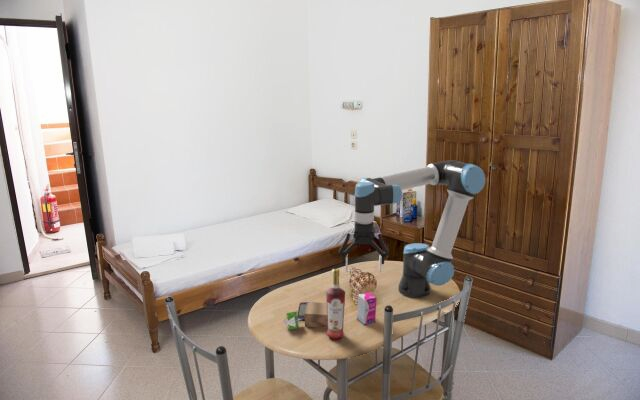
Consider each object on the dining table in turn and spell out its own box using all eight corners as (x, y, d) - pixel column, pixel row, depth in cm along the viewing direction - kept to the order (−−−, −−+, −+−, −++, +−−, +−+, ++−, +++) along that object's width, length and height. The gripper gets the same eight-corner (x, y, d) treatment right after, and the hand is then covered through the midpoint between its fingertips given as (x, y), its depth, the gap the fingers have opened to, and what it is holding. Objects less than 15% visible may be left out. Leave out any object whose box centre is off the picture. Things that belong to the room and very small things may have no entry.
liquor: (326, 341, 178) (326, 274, 171) (326, 331, 185) (325, 266, 178) (345, 341, 178) (346, 274, 171) (344, 331, 185) (344, 266, 178)
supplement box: (364, 325, 189) (364, 300, 186) (356, 319, 194) (357, 294, 191) (376, 322, 192) (376, 297, 189) (368, 316, 197) (368, 291, 194)
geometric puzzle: (280, 318, 191) (283, 309, 185) (296, 315, 193) (300, 306, 187) (285, 334, 187) (288, 326, 181) (301, 331, 189) (304, 322, 183)
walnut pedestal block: (331, 315, 197) (331, 303, 196) (329, 328, 188) (329, 314, 186) (307, 314, 199) (307, 302, 197) (304, 326, 189) (304, 313, 187)
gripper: (394, 218, 186) (393, 267, 191) (332, 218, 187) (332, 266, 193) (396, 224, 179) (395, 275, 184) (332, 223, 180) (332, 274, 185)
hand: (363, 271), depth 188 cm, fingers open, 13 cm apart
